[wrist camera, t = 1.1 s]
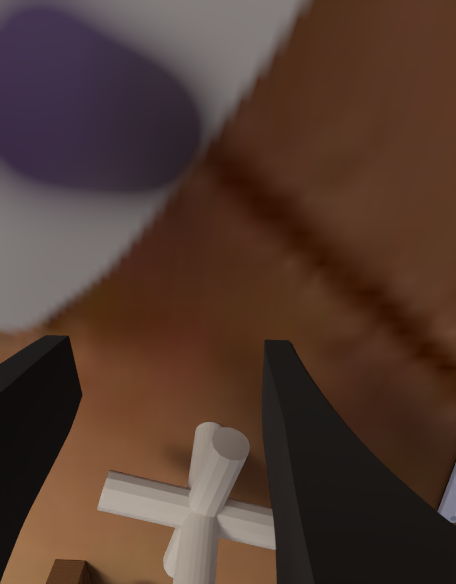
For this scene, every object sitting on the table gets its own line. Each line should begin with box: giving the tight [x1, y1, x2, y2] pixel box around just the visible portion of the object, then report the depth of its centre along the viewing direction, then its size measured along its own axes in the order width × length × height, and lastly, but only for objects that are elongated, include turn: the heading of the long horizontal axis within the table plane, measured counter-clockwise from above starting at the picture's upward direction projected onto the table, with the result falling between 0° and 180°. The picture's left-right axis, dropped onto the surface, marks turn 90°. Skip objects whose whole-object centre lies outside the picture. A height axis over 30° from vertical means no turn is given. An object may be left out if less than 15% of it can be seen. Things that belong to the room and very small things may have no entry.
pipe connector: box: [98, 422, 276, 584], centre depth 21 cm, size 10×10×10 cm
